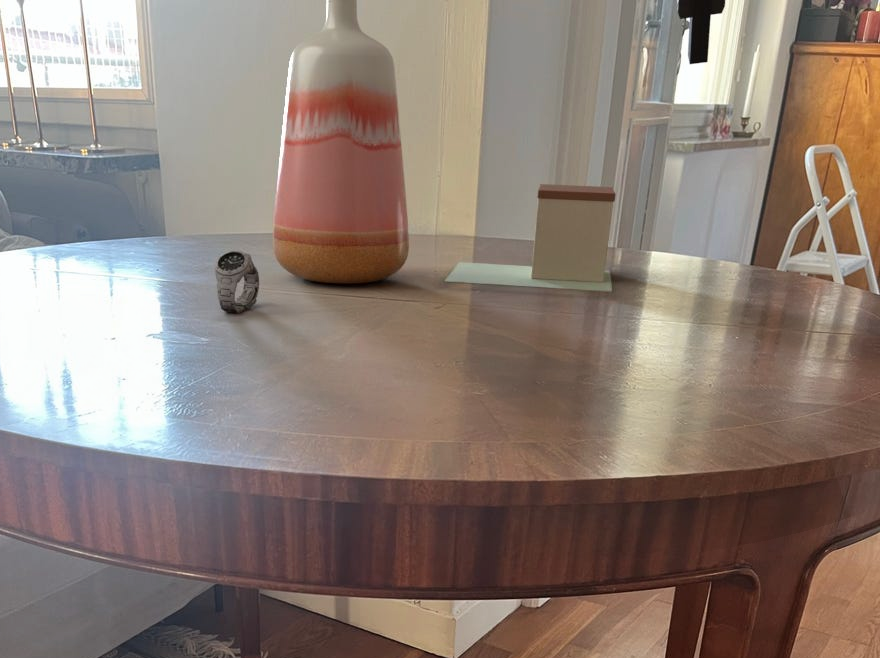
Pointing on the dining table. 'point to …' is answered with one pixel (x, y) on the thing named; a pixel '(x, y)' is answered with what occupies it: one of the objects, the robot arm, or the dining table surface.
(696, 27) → the robot arm
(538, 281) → the mat
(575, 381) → the dining table surface
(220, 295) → the wristwatch
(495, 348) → the dining table surface
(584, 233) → the toy box
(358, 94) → the vase
